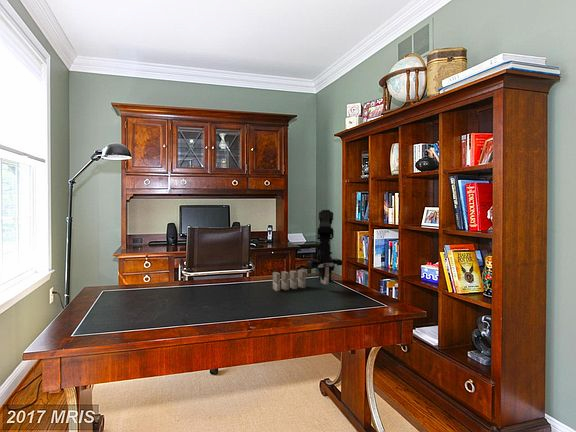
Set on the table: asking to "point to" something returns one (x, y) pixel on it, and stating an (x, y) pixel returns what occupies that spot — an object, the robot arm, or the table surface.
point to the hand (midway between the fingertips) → (324, 279)
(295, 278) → the domino
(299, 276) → the domino
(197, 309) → the table surface
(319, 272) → the robot arm
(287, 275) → the domino
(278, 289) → the domino
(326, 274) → the domino
